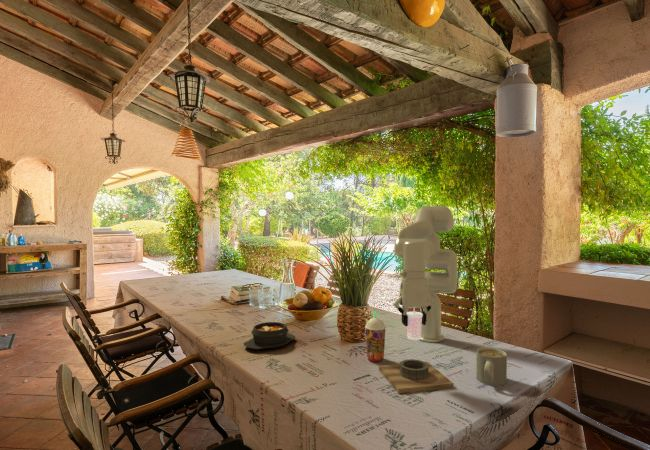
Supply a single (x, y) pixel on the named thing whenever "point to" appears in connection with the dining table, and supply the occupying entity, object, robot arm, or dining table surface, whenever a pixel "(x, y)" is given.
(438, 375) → the socket board
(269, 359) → the dining table surface
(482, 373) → the coffee mug
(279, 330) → the casserole
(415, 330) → the beverage cup
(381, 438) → the dining table surface
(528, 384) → the dining table surface
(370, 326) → the smoothie
